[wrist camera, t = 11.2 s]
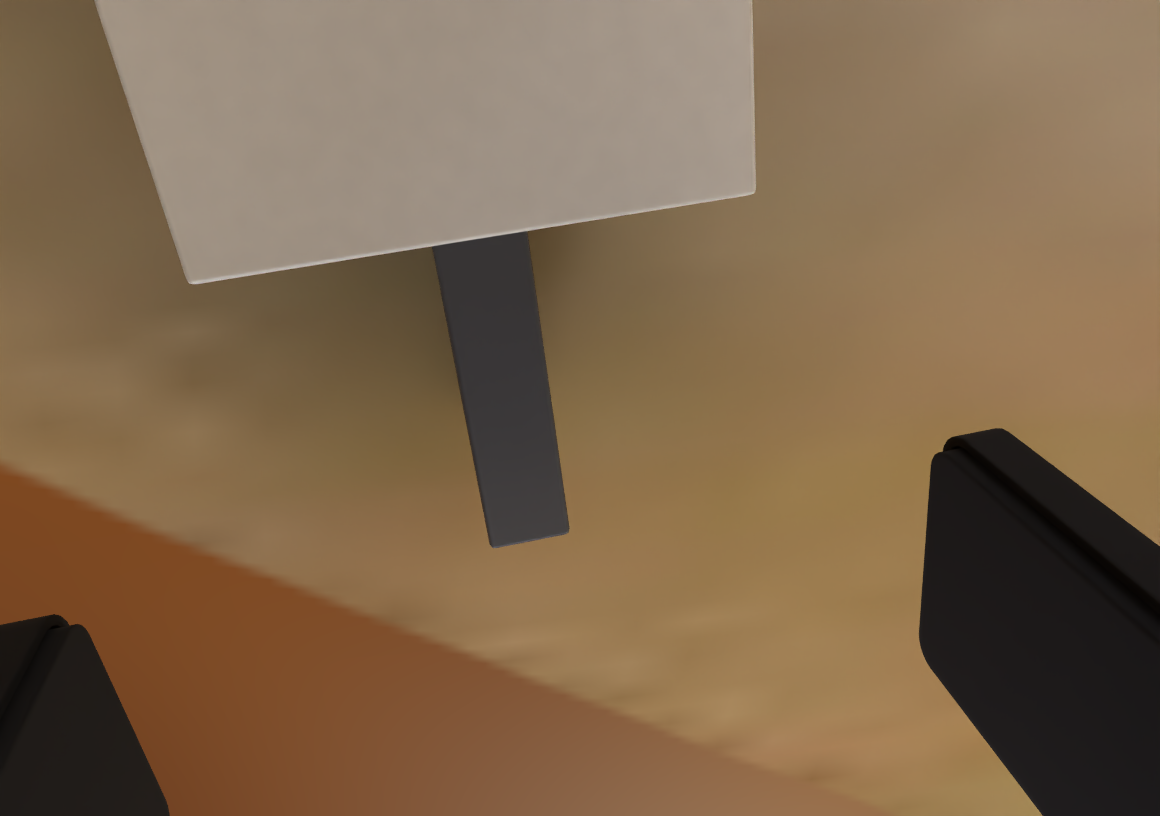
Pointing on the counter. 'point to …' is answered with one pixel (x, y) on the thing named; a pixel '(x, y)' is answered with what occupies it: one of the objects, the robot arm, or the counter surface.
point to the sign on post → (438, 160)
